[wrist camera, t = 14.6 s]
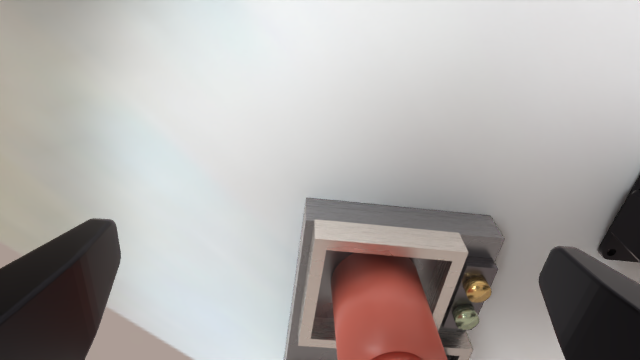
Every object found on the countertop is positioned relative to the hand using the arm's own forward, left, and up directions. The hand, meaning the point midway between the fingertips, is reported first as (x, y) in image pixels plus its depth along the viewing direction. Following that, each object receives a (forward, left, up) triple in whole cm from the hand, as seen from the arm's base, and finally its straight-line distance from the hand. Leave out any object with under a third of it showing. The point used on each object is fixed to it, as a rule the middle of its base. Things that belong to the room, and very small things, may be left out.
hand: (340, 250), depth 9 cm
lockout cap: (-4, +10, -10) cm, 15 cm away
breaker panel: (-5, +13, -12) cm, 19 cm away
